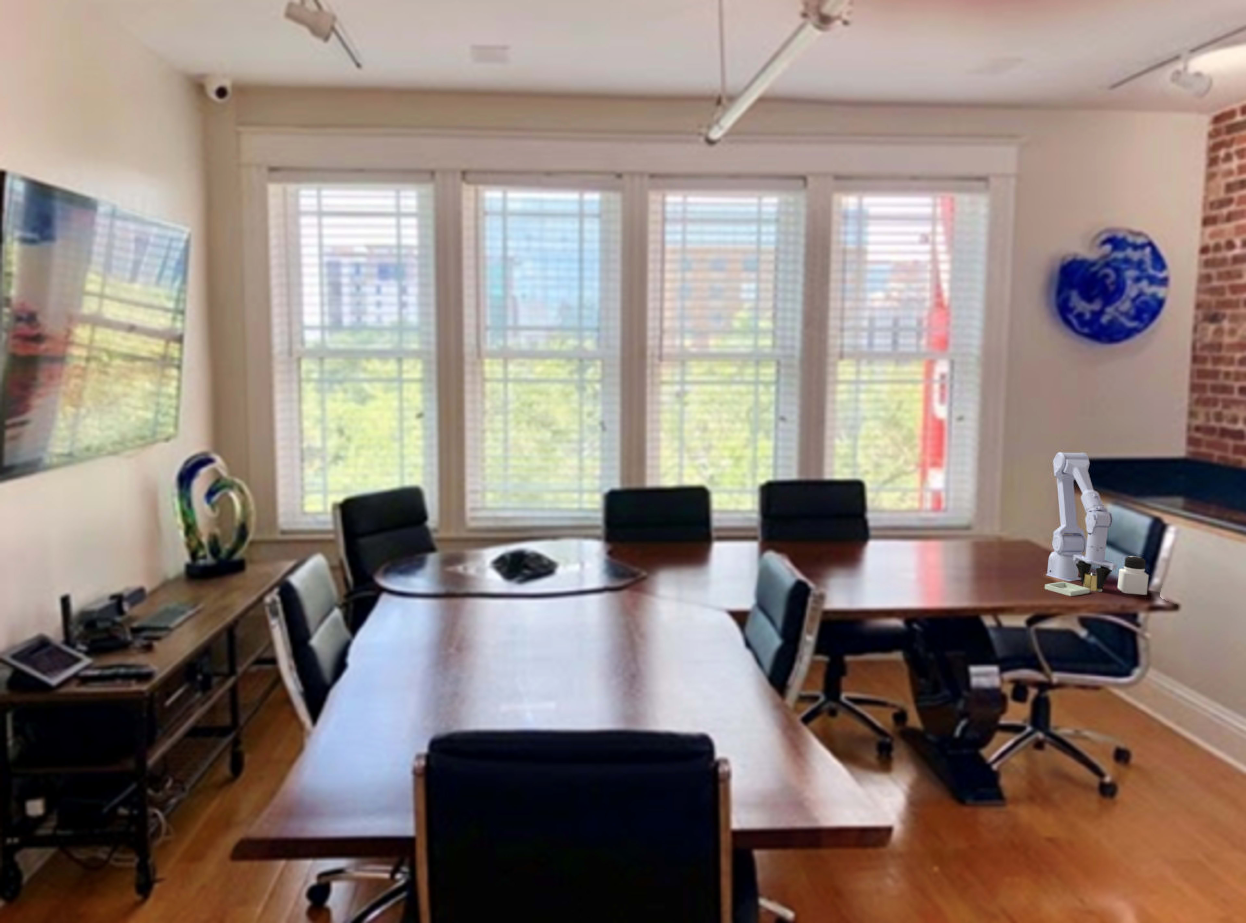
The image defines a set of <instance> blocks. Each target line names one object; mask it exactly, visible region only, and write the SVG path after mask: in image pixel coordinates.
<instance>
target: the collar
mask: <svg viewBox="0 0 1246 923" xmlns="http://www.w3.org/2000/svg"><path fill="white" fill-rule="evenodd" d="M1090 573H1091V572H1087V573H1085V574H1084V583H1083V586H1082V587H1085V588H1089V589H1090V592H1092V591H1101V589H1097V572H1095V573H1096V576H1093V575H1090ZM1101 592H1102V591H1101Z"/></svg>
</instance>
